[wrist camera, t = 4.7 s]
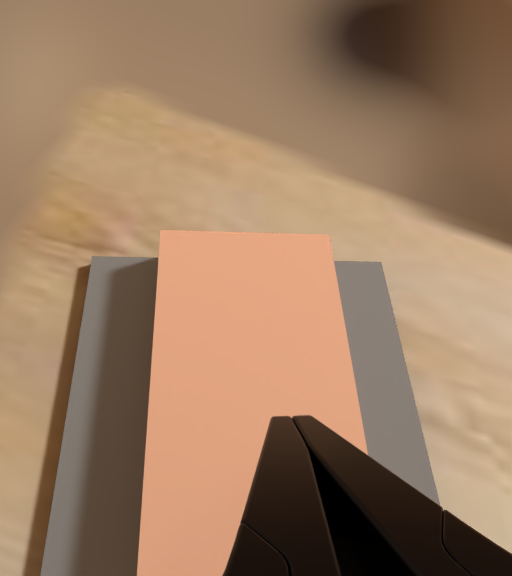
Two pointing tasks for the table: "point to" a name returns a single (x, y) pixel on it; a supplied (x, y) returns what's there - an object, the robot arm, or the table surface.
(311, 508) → the robot arm
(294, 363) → the terracotta tile
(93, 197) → the table surface
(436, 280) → the table surface
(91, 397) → the rubber mat
